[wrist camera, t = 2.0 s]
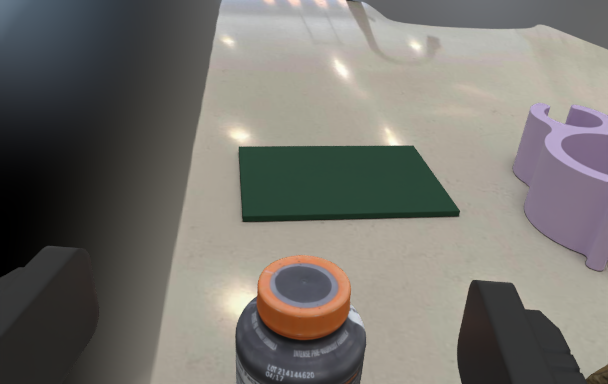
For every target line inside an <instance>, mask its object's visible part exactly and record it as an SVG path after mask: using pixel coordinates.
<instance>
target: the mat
mask: <svg viewBox="0 0 608 384" xmlns="http://www.w3.org/2000/svg"><path fill="white" fill-rule="evenodd" d="M239 163H240V181H241V199H242V217H243V222H248V221H287V220H326V219H364V218H403V217H441V216H459V213H460V210H459V209H458V208H457V206H456V205H455V203H454V202H453V201H452V199H451V198H450V196H449V195H448V194H447V192H446V191H445V189H444V188H443V187H442V185H441V184H440V182H439V181H438V180H437V178H436V177H435V175H434V174H433V173H432V171H431V170H430V168H429V167H428V166H427V164H426V163H425V161H424V160H423V159H422V157H421V156H420V154H419V153H418V152H417V150H416V149H415V147H414V146H272V147H239Z"/></svg>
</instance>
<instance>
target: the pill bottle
mask: <svg viewBox="0 0 608 384" xmlns="http://www.w3.org/2000/svg"><path fill="white" fill-rule="evenodd" d="M350 295H351V285H350V281H349V279H348V277H347V275H346V274H345V273H344V271H343V270H342V269H341V268H339V267H338V266H337V265H335V264H334V263H332V262H330V261H327V260H325V259H322V258H318V257H314V256H304V255H298V256H290V257H285V258H282V259H279V260H277V261H275V262H273V263H271V264H270V265H269V266H267V267H266V268H265V269H264V270H263V272H262V273H261V275H260V277H259V280H258V295H257V297H255V298H254V299H253V300H252V301H251V302H250V303H249V304H248V305H247V306H246V307H245V309H244V310H243V312H242V314H241V316H240V318H239V320H238V323H237V327H236V336H235V338H236V383H237V384H360V380H361V374H362V367H363V360H364V353H365V348H366V332H365V329H364V325H363V322H362V320H361V318H360V316H359V314H358V312H357V311H356V310H355V308H354V307H353V306H352V305H351V304H350Z"/></svg>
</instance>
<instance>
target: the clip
mask: <svg viewBox="0 0 608 384" xmlns="http://www.w3.org/2000/svg"><path fill="white" fill-rule="evenodd" d="M549 109H550V106H549V105H547V104H544V103H537V104H534V105H532V106H531V108H530V111H529V114H528V118H527V121H526V125H525V128H524V131H523V135H522V138H521V142H520V145H519V148H518V152H517V155H516V159H515V162H514V165H513V171H514V173H515V175H516V176H517V177H518V178H519V179H520V180H522V181H523V182H525V183H526V184H527V185H528V186H529V187H530V188H529V191H528V194H527V197H526V200H525V204H524V211H525V214H526V216H527V218H528V219H529V221H530V222H531V223H532V224H533V225H534V226H535V227H536V228H537V229H538V230H539V231H540V232H542V233H543V234H544V235H546V236H547V237H549V238H550V239H552V240H554V241H555V242H557V243H559V244H561V245H563V246H565V247H567V248H569V249H571V250H574V251H576V252H579V253H581V254H584V255H585V256H586V257H587V261H586V265H587V266H588V267H589V268H591V269H594V270H597V271H603V270H604V268H605V265H606V263H607V261H608V115H606V114H604V113H601V112H599V111H596V110H593V109H590V108H587V107H583V106H579V105H571V108H570V111H569V114H568V117H567V120H566V123H565V124H563V123H560V122H558V121H555V120H553V119H551V118H549V117H548V116H547V115H548V112H549Z"/></svg>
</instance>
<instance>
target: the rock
mask: <svg viewBox="0 0 608 384" xmlns="http://www.w3.org/2000/svg"><path fill="white" fill-rule="evenodd" d="M585 380H586V382H587V384H608V365H606V366H605V367H603V368H601V369H599V370H598V371H596V372H595V373H593V374H591V375H590V376H589V377H588V378H587V379H585Z"/></svg>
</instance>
